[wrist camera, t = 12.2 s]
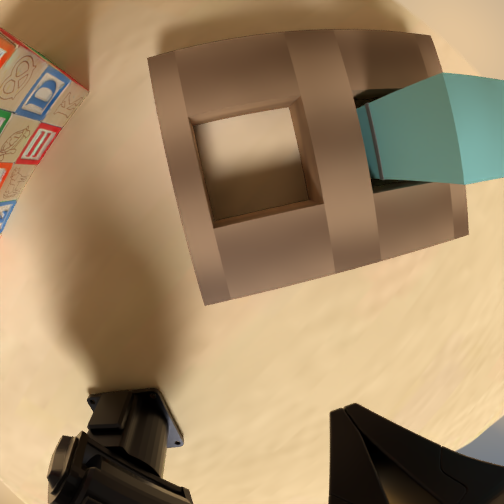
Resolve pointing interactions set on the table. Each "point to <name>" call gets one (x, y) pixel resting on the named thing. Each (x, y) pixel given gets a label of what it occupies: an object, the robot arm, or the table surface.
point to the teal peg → (437, 131)
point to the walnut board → (311, 152)
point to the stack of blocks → (29, 114)
